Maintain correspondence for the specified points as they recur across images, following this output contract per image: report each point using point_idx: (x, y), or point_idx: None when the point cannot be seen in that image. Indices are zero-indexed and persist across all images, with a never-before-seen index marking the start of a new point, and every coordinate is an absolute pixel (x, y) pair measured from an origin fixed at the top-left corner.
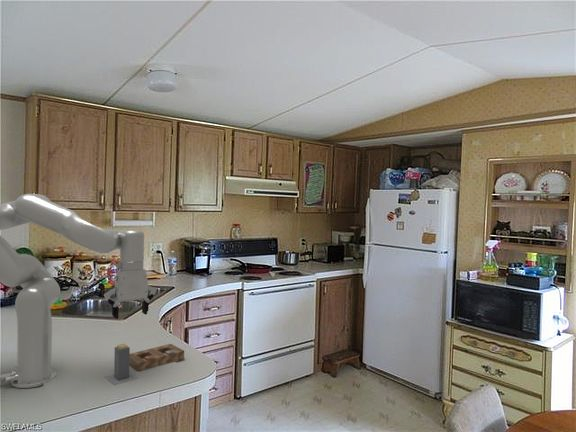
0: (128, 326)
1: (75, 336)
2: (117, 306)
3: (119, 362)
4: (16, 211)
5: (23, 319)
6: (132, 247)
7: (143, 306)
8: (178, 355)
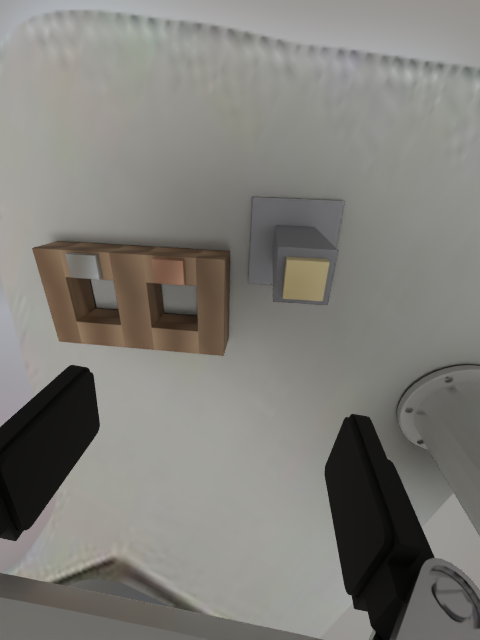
0: (120, 526)
1: (242, 545)
2: (373, 564)
3: (323, 237)
4: None
5: None
6: None
7: (51, 460)
8: (65, 246)
